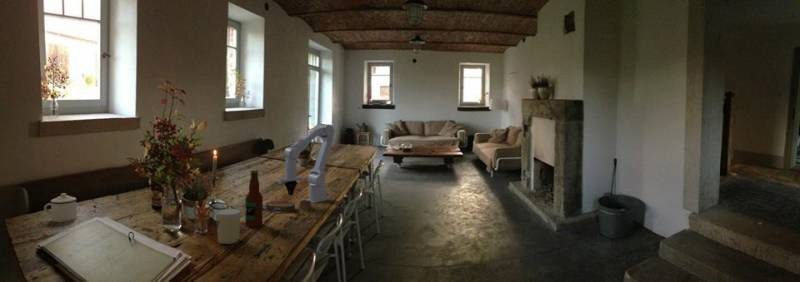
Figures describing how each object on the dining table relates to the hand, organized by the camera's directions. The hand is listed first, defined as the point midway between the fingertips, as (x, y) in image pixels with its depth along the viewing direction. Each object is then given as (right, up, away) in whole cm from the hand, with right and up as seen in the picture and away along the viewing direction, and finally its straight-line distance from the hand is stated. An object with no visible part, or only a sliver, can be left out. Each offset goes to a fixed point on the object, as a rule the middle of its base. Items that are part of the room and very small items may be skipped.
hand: (290, 195), depth 226 cm
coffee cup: (-11, -11, -55) cm, 58 cm away
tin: (-3, -5, -3) cm, 6 cm away
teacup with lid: (-92, -6, -39) cm, 100 cm away
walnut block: (+9, -7, -3) cm, 11 cm away
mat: (-7, -6, -7) cm, 12 cm away
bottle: (-8, -9, -35) cm, 37 cm away
